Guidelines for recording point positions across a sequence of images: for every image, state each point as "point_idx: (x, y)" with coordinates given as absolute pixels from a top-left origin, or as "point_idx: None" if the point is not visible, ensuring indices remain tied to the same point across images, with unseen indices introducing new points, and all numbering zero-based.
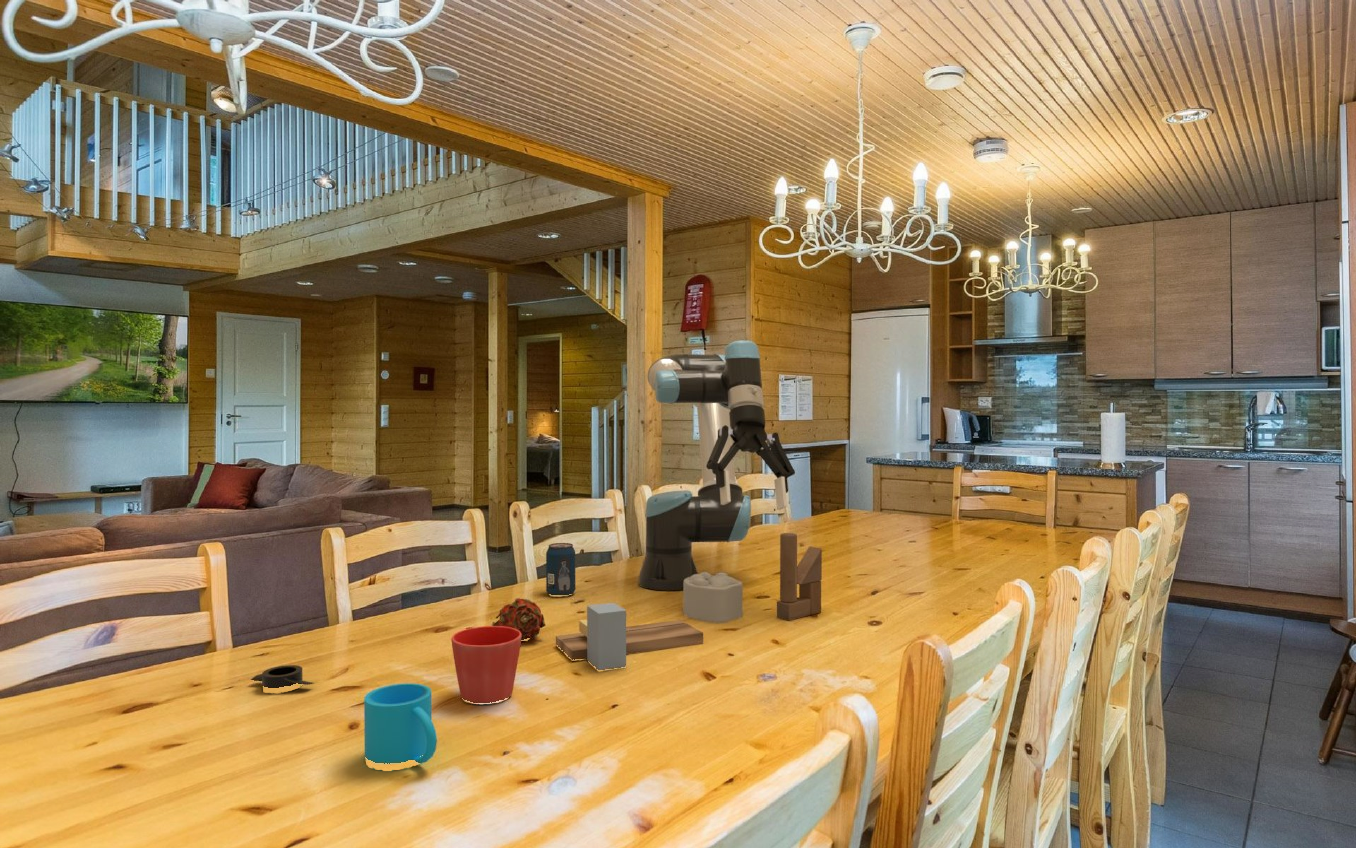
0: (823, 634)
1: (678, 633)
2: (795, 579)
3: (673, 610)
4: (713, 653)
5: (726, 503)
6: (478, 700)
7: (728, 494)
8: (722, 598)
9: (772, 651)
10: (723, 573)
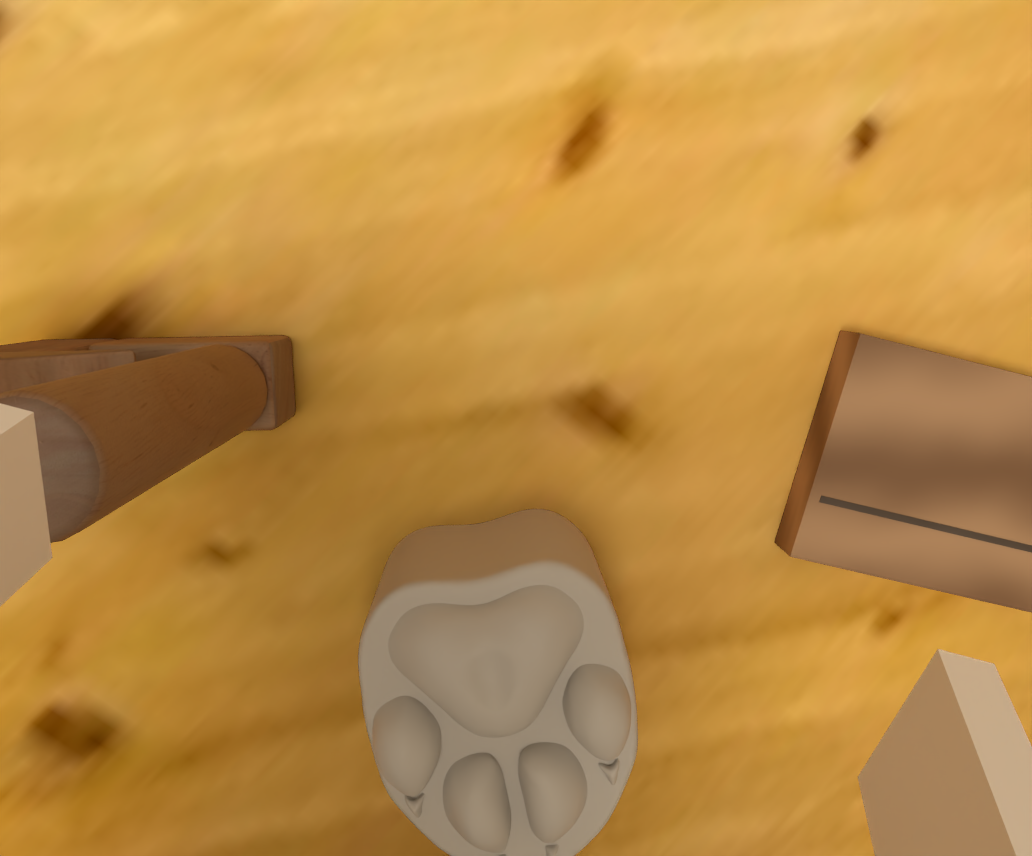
0: (320, 71)
1: (947, 395)
2: (166, 355)
3: None
4: (907, 196)
5: (900, 725)
6: None
7: (1002, 747)
8: (565, 549)
9: (700, 45)
10: (406, 745)
